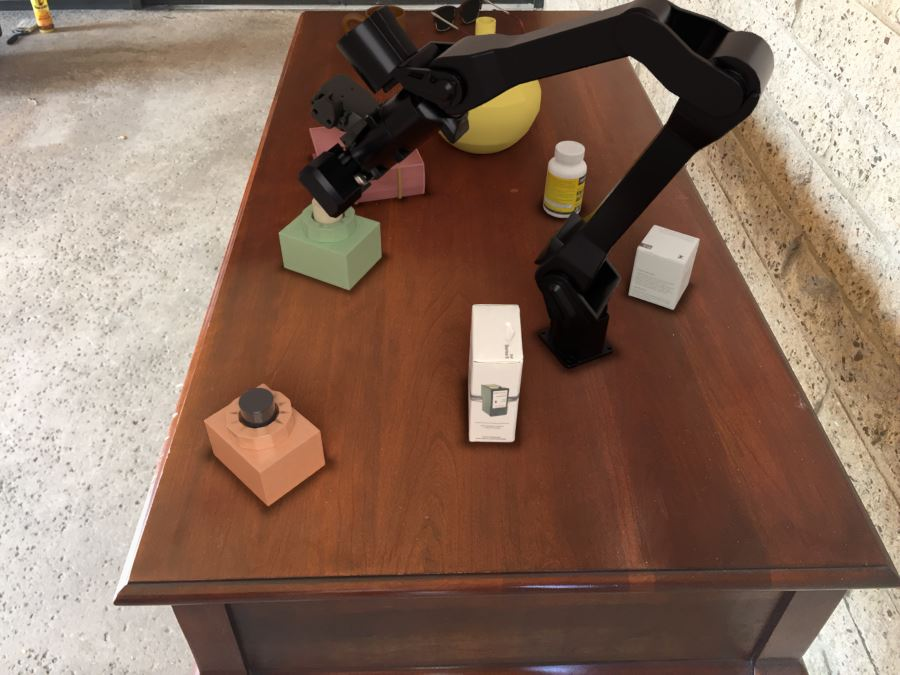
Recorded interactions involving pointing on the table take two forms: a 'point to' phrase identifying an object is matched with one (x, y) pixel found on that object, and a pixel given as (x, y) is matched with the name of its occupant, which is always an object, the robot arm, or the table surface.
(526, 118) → the vase
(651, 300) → the white cardboard box
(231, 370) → the table surface
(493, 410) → the ink box
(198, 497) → the table surface
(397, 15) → the mug
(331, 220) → the beige push button
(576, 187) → the supplement bottle
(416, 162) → the book
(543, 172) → the table surface
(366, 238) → the green push button box
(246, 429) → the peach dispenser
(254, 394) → the dark grey push button
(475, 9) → the sunglasses
